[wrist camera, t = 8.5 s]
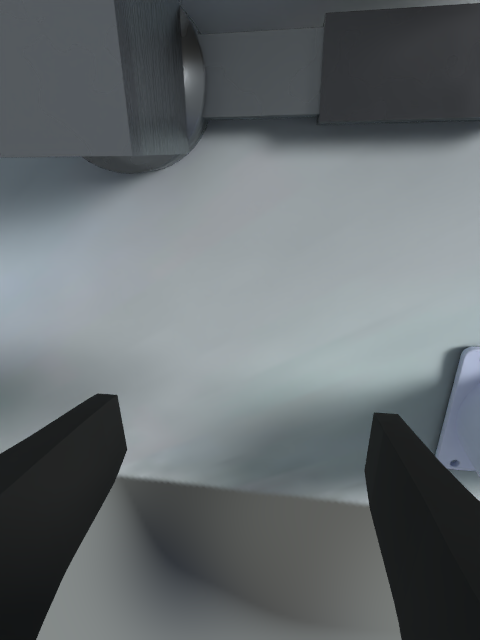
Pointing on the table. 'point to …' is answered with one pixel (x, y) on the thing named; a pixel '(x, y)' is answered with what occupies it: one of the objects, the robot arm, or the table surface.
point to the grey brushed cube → (91, 78)
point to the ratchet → (330, 73)
